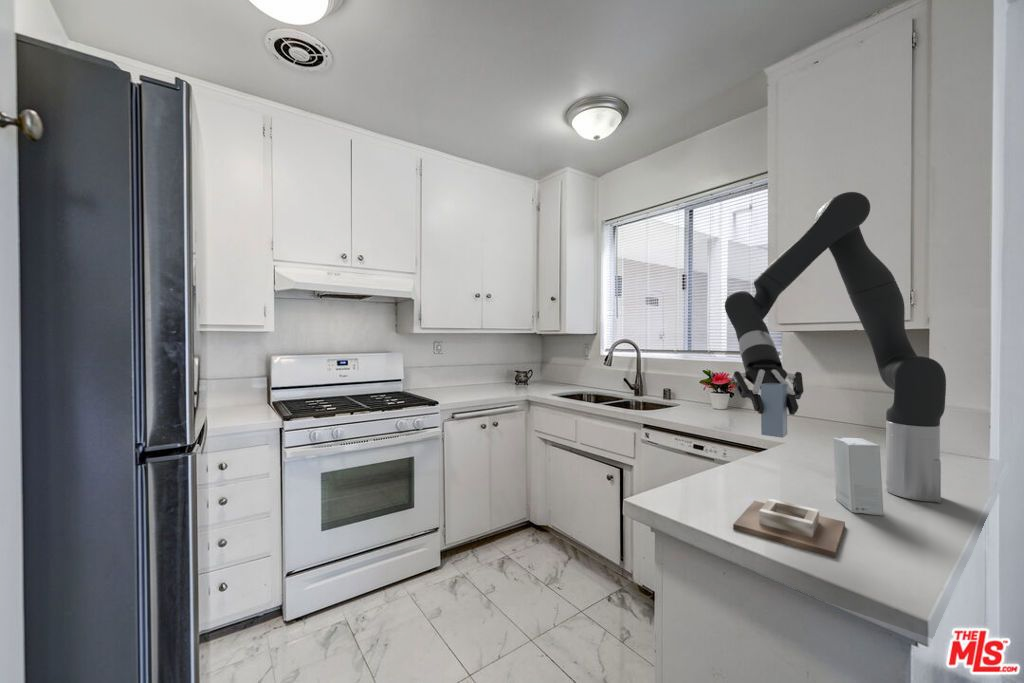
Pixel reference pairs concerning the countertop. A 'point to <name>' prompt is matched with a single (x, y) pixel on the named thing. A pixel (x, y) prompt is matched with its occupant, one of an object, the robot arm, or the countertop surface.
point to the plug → (774, 409)
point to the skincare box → (858, 475)
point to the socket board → (792, 526)
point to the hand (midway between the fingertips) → (777, 411)
